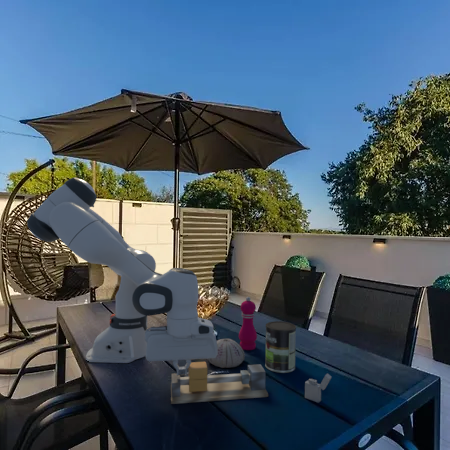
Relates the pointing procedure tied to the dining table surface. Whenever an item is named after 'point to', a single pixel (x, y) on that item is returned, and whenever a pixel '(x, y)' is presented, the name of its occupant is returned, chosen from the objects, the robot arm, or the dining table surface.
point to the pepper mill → (248, 326)
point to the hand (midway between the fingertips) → (181, 374)
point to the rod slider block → (222, 386)
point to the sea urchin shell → (228, 354)
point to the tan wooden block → (197, 376)
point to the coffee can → (280, 346)
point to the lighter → (315, 388)
